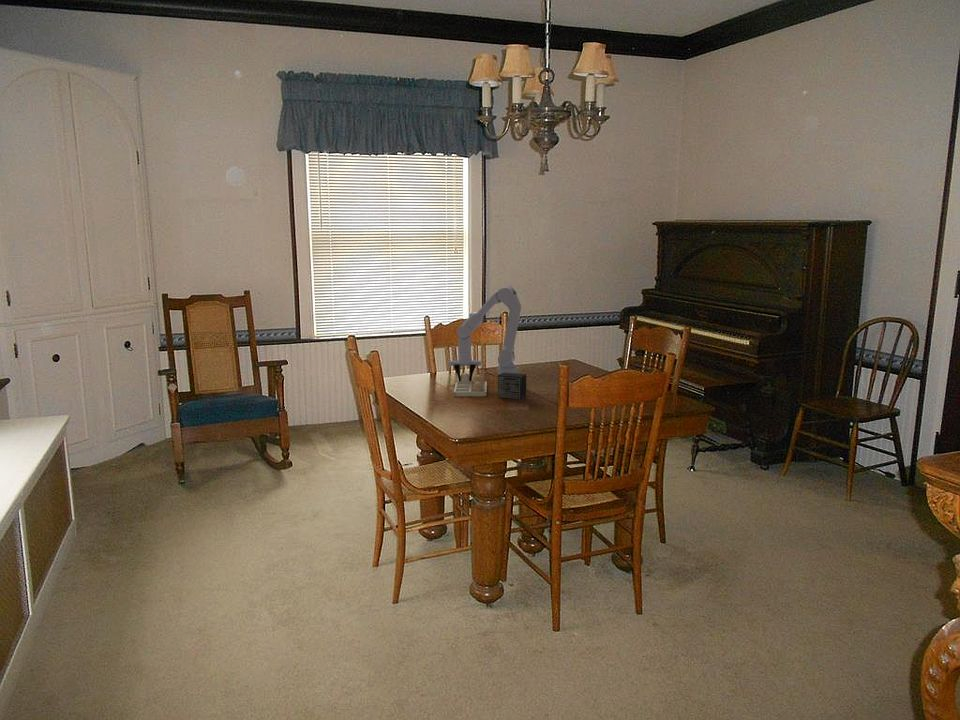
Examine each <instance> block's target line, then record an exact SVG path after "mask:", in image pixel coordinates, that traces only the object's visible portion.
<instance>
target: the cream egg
mask: <svg viewBox="0 0 960 720" xmlns="http://www.w3.org/2000/svg"><path fill="white" fill-rule="evenodd" d="M460 381H470V373H467V372H462V373H461V374H460Z"/></svg>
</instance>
